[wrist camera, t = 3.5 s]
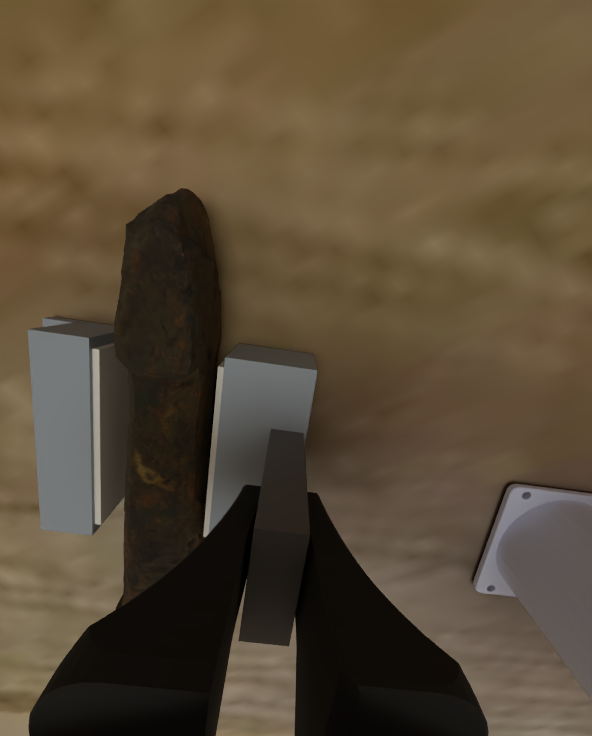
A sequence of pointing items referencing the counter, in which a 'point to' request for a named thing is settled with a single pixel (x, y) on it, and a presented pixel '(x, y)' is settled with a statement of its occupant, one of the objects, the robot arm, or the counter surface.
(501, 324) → the counter surface
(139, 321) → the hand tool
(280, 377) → the free jaw
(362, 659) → the robot arm
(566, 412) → the counter surface
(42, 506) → the fixed jaw
